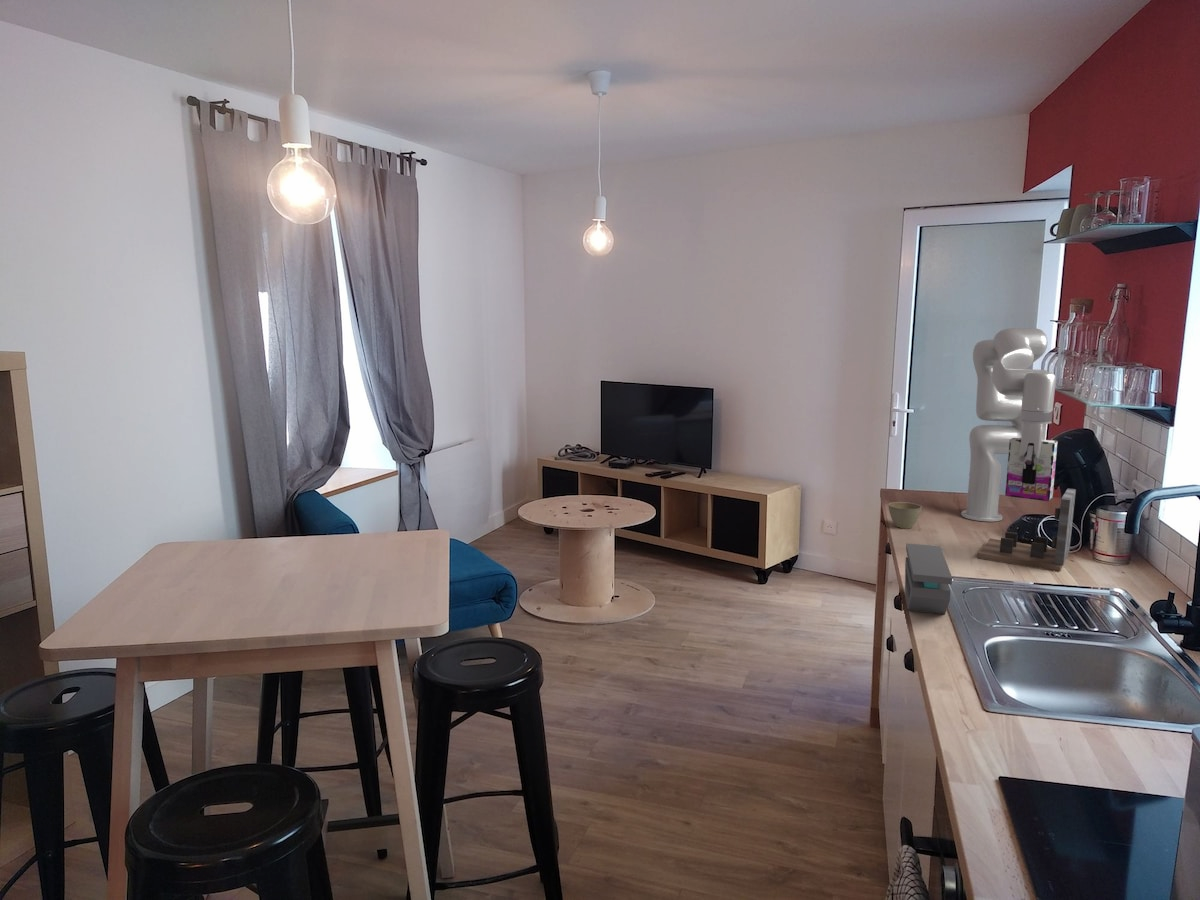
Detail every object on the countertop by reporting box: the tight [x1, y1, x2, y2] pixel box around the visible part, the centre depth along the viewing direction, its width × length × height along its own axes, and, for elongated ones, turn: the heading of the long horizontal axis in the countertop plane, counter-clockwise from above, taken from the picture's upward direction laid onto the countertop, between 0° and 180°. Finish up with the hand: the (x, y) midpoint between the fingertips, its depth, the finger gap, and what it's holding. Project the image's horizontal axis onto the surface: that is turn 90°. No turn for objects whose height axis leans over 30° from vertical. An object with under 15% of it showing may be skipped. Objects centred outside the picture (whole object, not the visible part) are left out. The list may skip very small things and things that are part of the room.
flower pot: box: [888, 501, 923, 529], centre depth 247 cm, size 10×10×7 cm
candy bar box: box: [1005, 438, 1058, 502], centre depth 212 cm, size 11×5×16 cm, turn 51°
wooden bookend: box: [977, 487, 1077, 572], centre depth 214 cm, size 18×20×20 cm
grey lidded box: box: [904, 543, 953, 615], centre depth 179 cm, size 25×8×11 cm, turn 162°
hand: (1029, 481), depth 212 cm, fingers closed on candy bar box, 5 cm apart
